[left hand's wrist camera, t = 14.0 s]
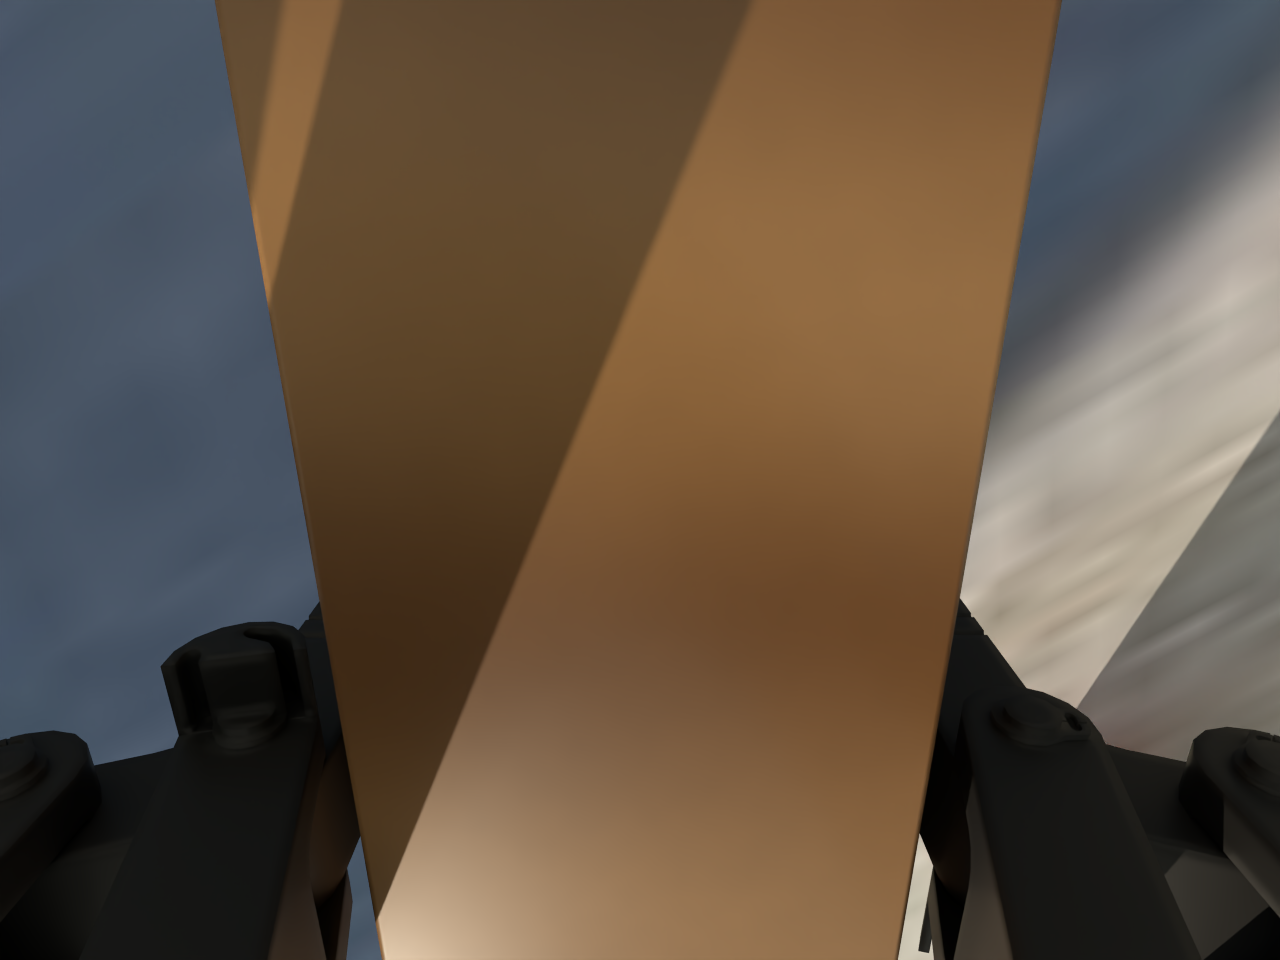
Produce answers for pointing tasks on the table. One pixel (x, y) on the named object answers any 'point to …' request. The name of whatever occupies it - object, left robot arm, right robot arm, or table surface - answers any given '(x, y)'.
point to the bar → (639, 441)
